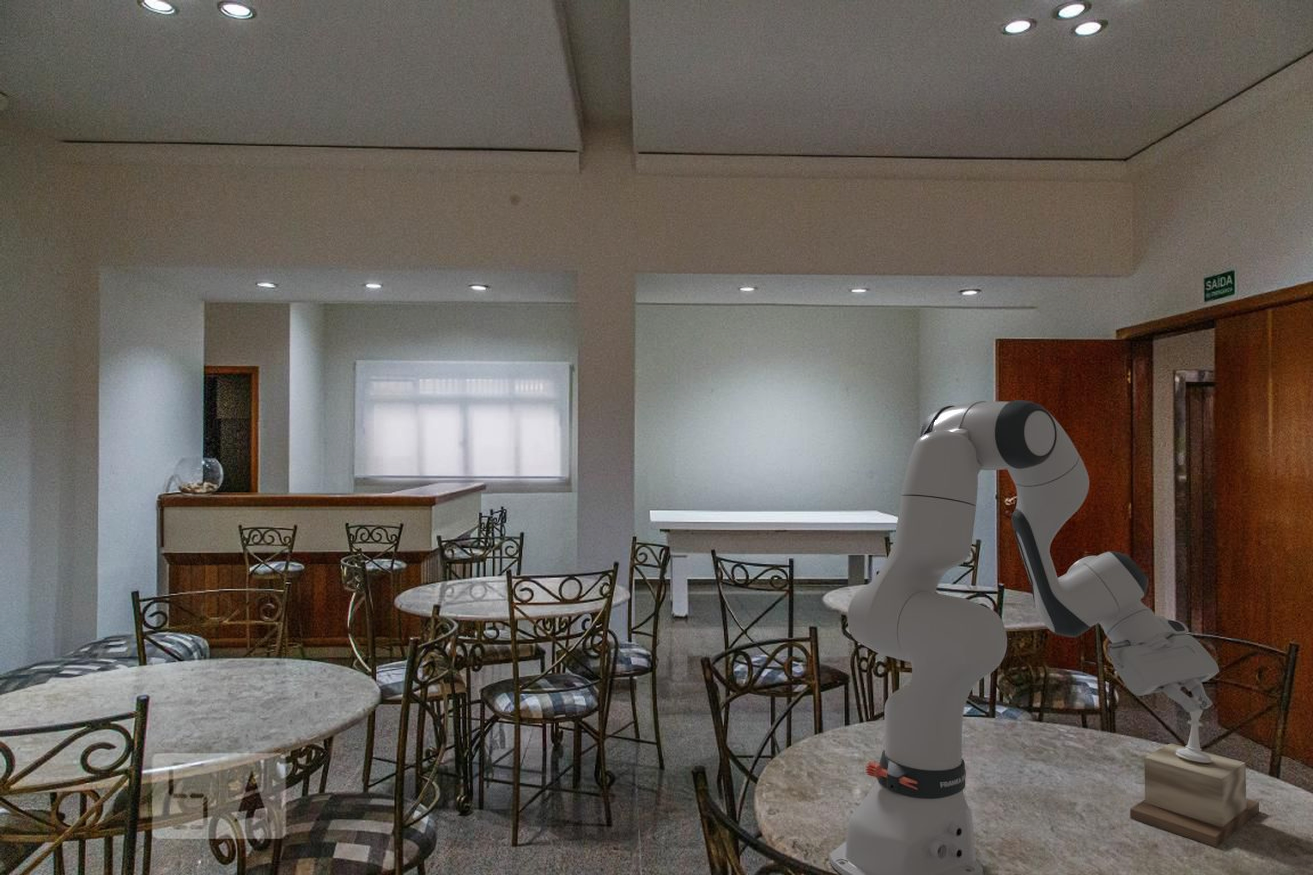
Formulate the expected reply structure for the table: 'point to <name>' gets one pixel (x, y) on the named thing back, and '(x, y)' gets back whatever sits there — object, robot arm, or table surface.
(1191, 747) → the chess piece
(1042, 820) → the table surface
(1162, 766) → the walnut base
